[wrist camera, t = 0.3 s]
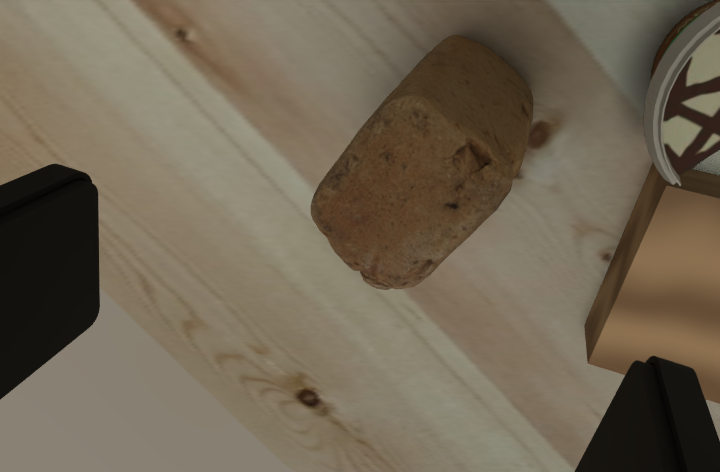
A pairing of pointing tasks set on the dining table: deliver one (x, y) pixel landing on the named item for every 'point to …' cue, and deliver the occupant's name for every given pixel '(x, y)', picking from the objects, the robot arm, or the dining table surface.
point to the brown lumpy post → (426, 165)
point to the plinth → (664, 283)
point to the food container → (685, 95)
